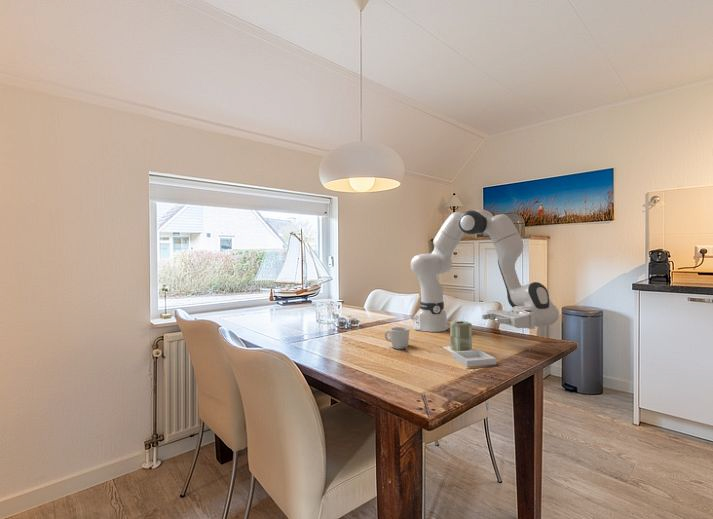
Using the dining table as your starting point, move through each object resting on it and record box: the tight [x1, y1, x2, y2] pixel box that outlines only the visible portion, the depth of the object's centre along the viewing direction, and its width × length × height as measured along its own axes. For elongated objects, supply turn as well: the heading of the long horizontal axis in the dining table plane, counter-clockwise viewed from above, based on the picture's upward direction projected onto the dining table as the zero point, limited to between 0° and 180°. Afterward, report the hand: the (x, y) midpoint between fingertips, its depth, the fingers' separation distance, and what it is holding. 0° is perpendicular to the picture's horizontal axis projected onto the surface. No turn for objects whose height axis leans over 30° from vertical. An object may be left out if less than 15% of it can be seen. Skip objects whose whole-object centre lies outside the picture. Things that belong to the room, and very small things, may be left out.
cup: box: [384, 326, 410, 350], centre depth 150 cm, size 11×8×8 cm
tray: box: [451, 349, 497, 370], centre depth 127 cm, size 11×11×3 cm
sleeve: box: [449, 320, 473, 352], centre depth 140 cm, size 6×6×11 cm
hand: (489, 319), depth 142 cm, fingers open, 8 cm apart
